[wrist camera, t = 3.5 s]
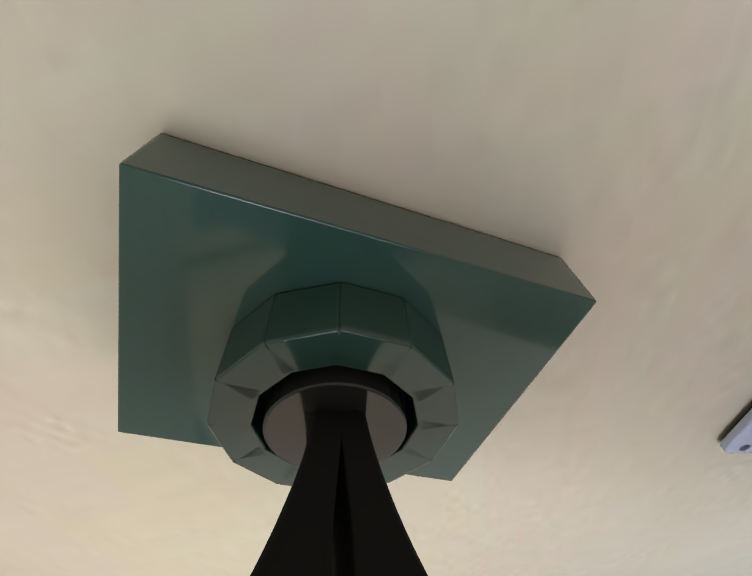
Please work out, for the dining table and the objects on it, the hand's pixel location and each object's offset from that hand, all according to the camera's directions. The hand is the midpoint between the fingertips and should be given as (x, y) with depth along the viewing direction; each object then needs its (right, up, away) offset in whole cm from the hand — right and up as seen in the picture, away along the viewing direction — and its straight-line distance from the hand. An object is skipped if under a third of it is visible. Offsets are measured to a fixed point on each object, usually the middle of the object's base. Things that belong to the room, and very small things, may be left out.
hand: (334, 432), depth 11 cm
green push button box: (0, +3, +4) cm, 5 cm away
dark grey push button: (0, +1, +2) cm, 2 cm away
